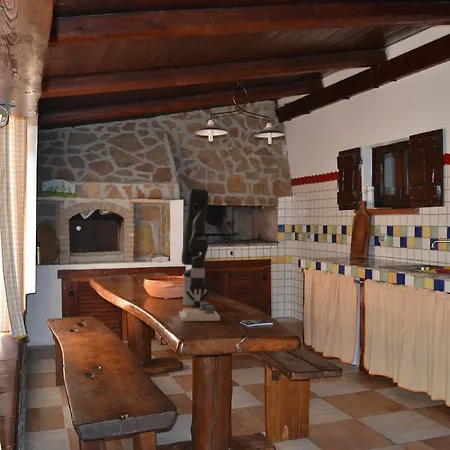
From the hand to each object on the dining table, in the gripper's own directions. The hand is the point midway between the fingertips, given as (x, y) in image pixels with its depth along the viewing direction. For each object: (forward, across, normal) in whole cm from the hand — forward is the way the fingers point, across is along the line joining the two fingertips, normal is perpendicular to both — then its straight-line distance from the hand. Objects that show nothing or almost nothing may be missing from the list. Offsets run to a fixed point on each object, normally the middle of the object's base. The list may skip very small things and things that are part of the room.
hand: (196, 307), depth 298 cm
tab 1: (+2, -4, 0) cm, 5 cm away
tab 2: (+2, -6, +9) cm, 11 cm away
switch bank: (+4, -1, +5) cm, 6 cm away
